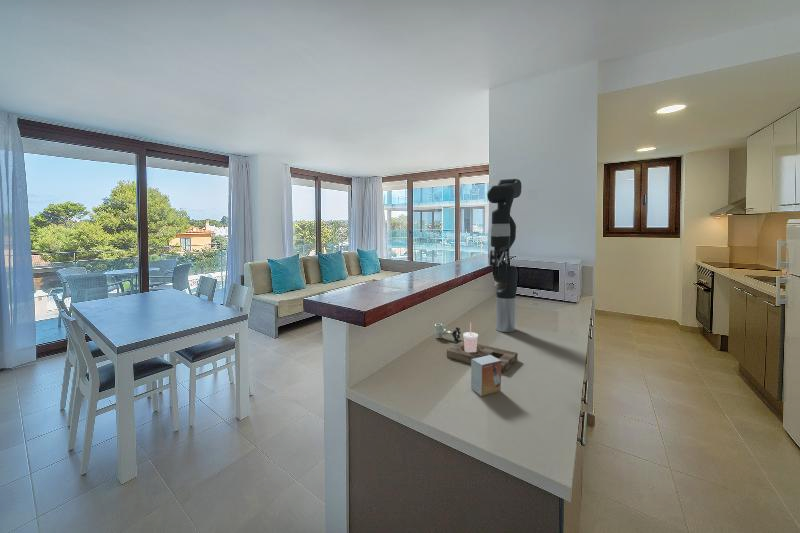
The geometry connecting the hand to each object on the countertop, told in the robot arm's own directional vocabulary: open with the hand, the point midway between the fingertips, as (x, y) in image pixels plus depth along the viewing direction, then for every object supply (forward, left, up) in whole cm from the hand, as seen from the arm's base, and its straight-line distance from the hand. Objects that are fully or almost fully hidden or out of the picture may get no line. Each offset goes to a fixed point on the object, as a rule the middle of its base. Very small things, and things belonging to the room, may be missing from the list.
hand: (499, 274), depth 132 cm
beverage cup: (+12, -7, -33) cm, 36 cm away
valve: (+1, -25, -34) cm, 42 cm away
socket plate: (+12, -2, -33) cm, 35 cm away
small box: (+34, +10, -33) cm, 49 cm away
